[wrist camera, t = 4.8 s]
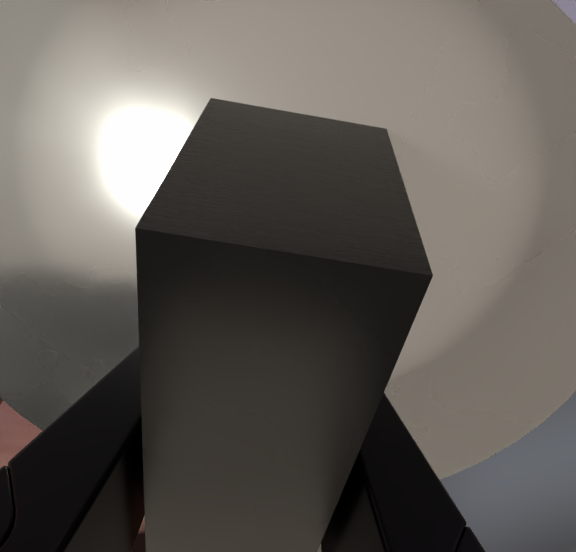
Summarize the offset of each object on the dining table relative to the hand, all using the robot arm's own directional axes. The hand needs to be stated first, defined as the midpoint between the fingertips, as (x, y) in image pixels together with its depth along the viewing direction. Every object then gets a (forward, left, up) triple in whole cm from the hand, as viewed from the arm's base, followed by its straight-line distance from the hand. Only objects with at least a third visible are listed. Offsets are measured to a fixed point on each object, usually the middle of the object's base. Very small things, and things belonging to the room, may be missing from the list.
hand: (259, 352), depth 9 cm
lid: (0, 0, -2) cm, 2 cm away
